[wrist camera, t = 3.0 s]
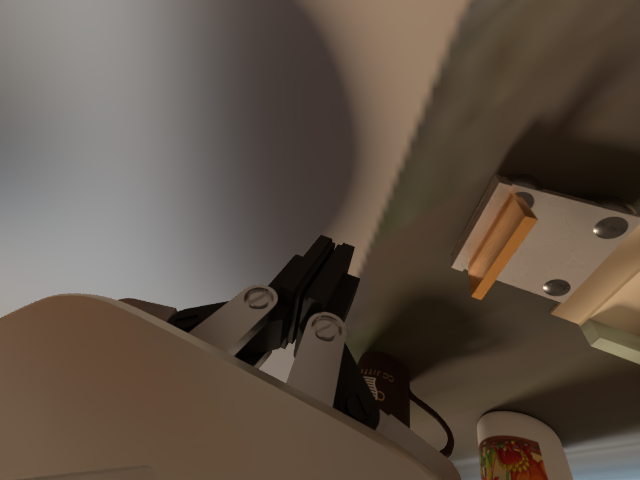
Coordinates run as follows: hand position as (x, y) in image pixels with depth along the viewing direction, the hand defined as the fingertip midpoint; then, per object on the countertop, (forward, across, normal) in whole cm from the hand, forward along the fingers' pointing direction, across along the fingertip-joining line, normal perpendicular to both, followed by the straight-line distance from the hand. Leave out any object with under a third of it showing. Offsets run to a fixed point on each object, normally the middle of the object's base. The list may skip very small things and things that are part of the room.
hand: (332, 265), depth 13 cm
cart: (+13, -12, 0) cm, 17 cm away
